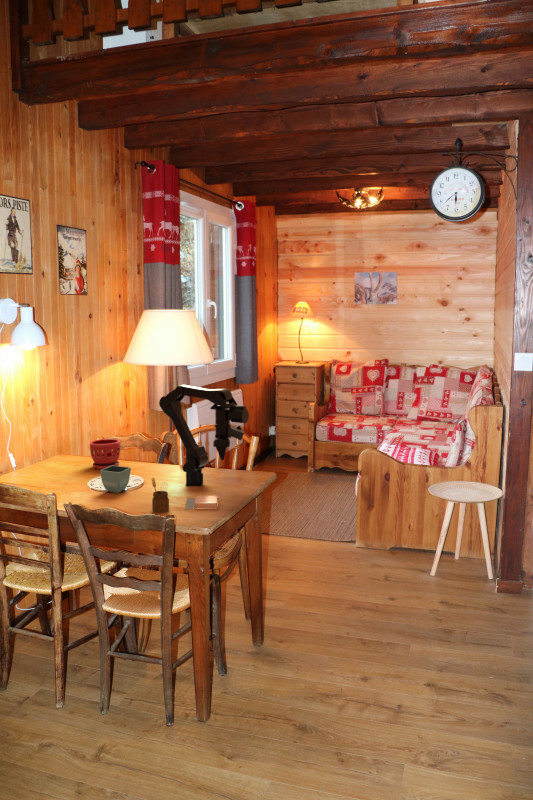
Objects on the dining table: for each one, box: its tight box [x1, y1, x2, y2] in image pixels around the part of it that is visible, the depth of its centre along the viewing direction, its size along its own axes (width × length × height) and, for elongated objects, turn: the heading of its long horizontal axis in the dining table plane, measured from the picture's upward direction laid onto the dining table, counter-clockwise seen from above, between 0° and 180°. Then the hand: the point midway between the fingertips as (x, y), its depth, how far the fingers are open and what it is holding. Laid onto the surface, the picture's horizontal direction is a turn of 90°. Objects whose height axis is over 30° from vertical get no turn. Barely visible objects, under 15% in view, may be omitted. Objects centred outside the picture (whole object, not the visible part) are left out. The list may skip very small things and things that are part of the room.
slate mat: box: [184, 497, 196, 511], centre depth 246 cm, size 12×14×1 cm
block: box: [194, 495, 218, 508], centre depth 244 cm, size 8×2×9 cm
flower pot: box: [99, 465, 132, 494], centre depth 261 cm, size 9×9×9 cm
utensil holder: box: [151, 477, 170, 514], centre depth 236 cm, size 6×6×12 cm
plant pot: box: [89, 438, 121, 470], centre depth 297 cm, size 13×13×12 cm
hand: (222, 459), depth 264 cm, fingers closed
